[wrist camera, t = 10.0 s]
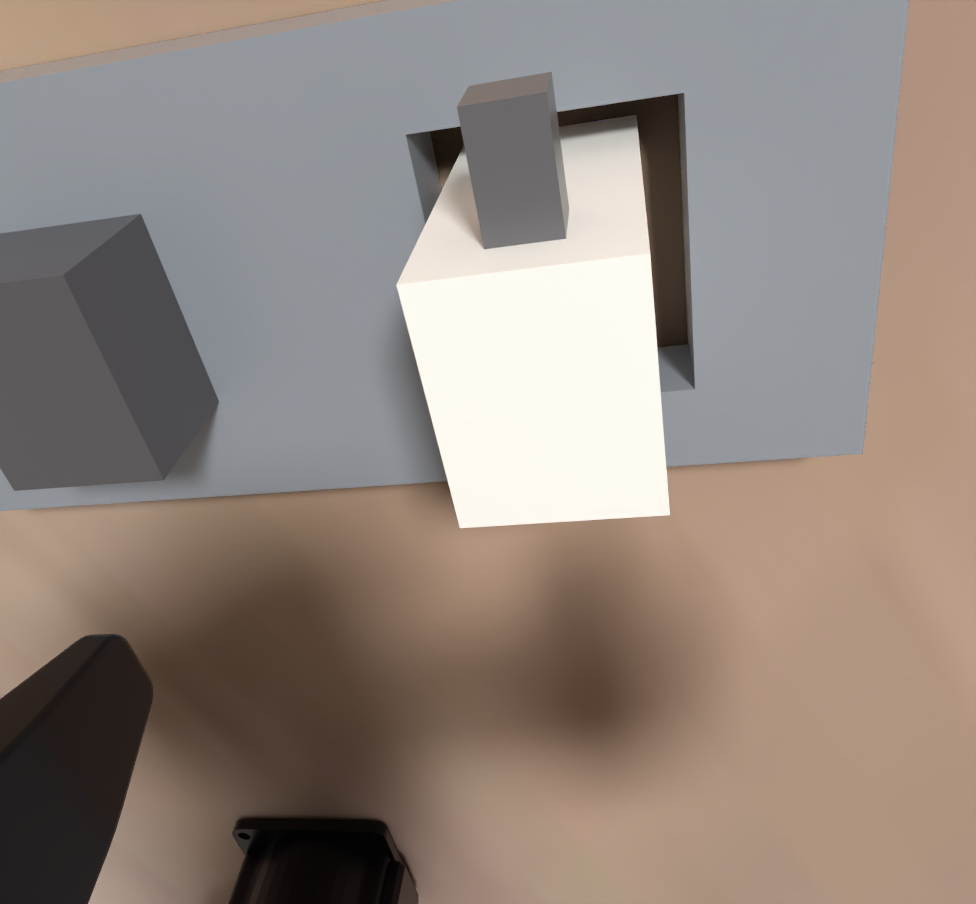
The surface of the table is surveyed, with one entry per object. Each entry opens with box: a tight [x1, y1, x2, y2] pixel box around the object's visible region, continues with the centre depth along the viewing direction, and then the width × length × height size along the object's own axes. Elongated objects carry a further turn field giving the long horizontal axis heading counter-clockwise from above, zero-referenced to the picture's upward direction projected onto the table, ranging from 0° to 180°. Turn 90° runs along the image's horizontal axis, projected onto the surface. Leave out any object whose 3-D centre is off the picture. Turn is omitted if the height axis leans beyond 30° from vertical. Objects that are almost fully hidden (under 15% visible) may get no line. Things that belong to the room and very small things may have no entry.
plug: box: [396, 72, 670, 528], centre depth 15 cm, size 4×6×7 cm, turn 11°
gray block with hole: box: [0, 0, 909, 511], centre depth 17 cm, size 22×10×5 cm, turn 100°
